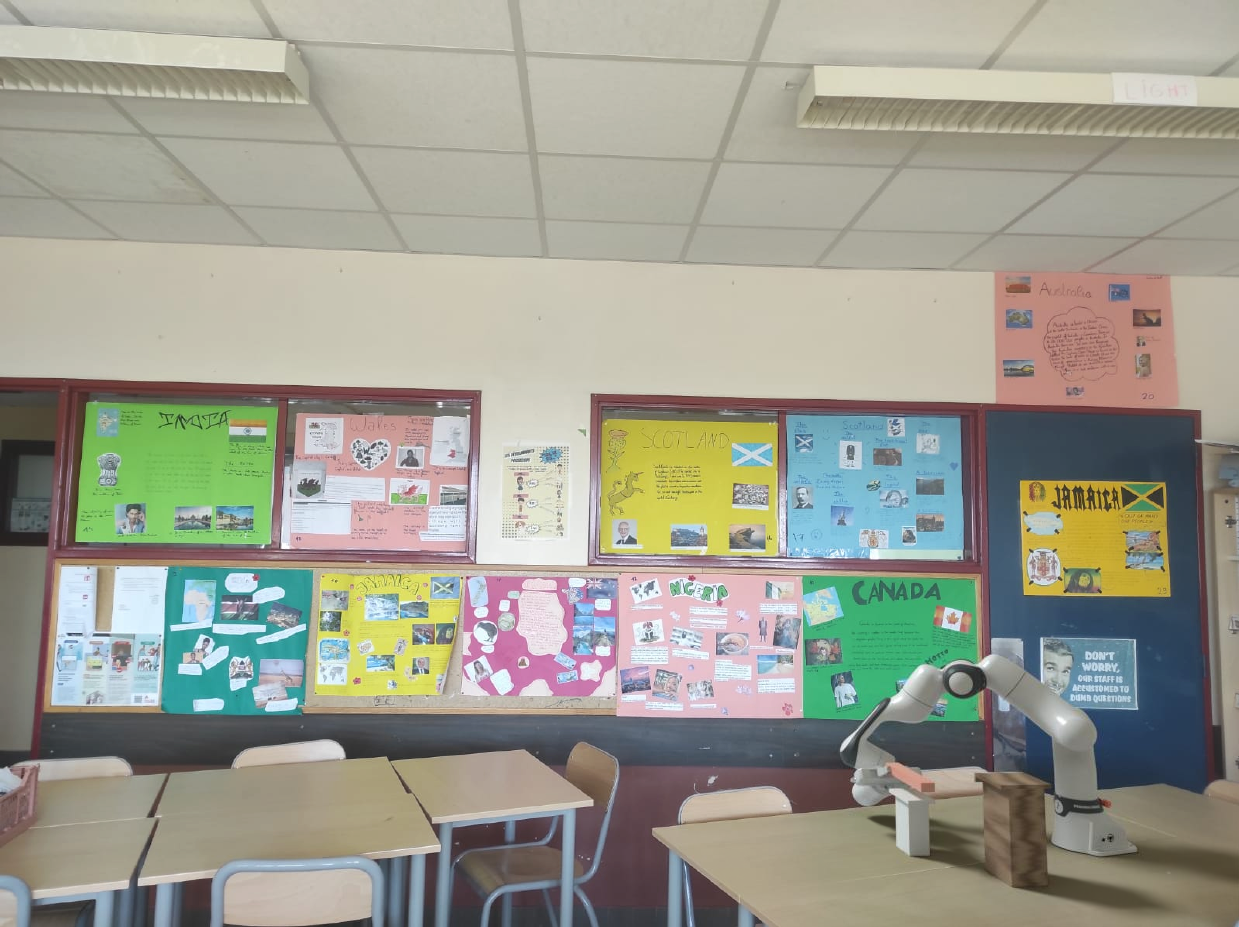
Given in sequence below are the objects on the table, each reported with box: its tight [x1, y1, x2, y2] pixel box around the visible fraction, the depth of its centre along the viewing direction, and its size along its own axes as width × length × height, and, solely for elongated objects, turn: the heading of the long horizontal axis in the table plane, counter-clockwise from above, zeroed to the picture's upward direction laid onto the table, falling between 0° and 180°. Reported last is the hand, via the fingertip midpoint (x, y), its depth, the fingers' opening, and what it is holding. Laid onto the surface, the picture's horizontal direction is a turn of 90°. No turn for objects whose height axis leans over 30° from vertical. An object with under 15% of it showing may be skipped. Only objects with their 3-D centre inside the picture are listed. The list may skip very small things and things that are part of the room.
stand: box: [889, 787, 936, 857], centre depth 235 cm, size 8×12×16 cm, turn 7°
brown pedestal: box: [973, 771, 1052, 888], centre depth 217 cm, size 14×13×25 cm
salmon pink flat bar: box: [886, 762, 936, 793], centre depth 237 cm, size 4×22×2 cm, turn 7°
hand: (897, 768), depth 244 cm, fingers closed on salmon pink flat bar, 4 cm apart
